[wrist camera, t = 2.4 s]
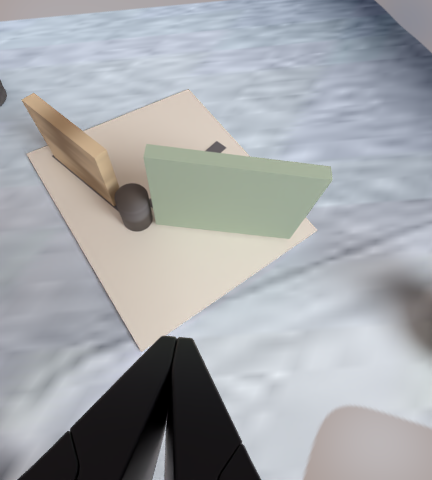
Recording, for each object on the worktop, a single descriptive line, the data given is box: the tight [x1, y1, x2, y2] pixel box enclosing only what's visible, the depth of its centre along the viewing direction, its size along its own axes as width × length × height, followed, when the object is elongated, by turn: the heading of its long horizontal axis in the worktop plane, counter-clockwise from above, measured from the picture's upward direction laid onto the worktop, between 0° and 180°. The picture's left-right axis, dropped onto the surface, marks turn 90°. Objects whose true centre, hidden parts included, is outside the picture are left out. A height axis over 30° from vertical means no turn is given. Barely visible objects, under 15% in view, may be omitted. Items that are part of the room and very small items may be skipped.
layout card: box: [27, 89, 317, 352], centre depth 26 cm, size 17×20×1 cm
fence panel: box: [143, 144, 332, 239], centre depth 21 cm, size 11×1×8 cm, turn 86°
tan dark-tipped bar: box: [22, 93, 153, 232], centre depth 23 cm, size 11×2×6 cm, turn 50°
